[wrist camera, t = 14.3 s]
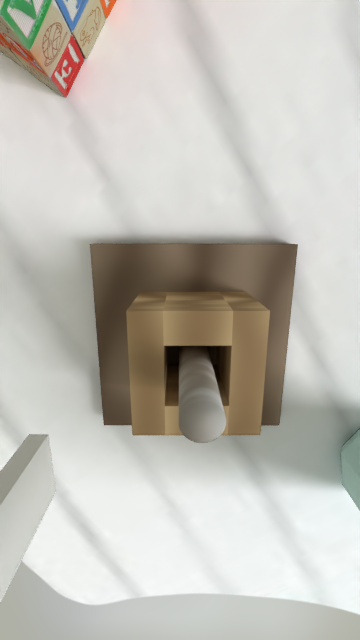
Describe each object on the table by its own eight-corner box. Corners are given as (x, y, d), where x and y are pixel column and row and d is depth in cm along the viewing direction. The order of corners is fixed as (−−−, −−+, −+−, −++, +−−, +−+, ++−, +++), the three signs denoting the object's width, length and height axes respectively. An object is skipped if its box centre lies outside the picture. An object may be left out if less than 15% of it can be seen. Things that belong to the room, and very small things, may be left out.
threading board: (291, 244, 26) (405, 248, 13) (274, 416, 30) (346, 550, 17) (95, 243, 26) (7, 248, 13) (107, 416, 30) (52, 550, 17)
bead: (245, 291, 25) (270, 310, 19) (240, 387, 28) (260, 434, 21) (140, 292, 25) (126, 311, 19) (144, 387, 28) (132, 435, 21)
